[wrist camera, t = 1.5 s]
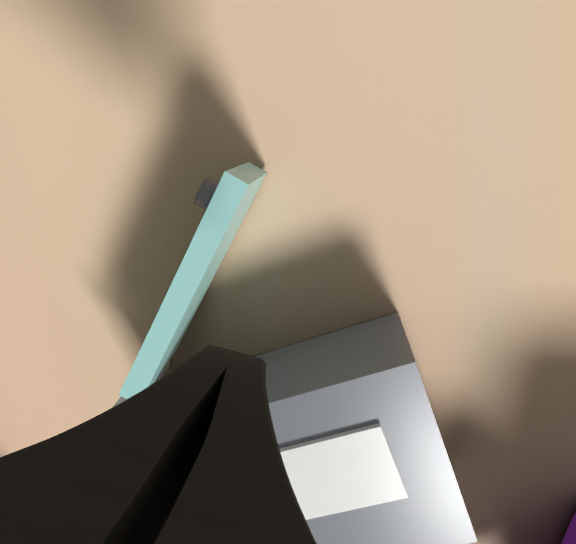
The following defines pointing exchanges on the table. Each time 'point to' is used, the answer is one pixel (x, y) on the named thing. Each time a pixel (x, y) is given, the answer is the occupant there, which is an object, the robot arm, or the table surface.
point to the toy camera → (571, 532)
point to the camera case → (363, 439)
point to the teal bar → (195, 271)
